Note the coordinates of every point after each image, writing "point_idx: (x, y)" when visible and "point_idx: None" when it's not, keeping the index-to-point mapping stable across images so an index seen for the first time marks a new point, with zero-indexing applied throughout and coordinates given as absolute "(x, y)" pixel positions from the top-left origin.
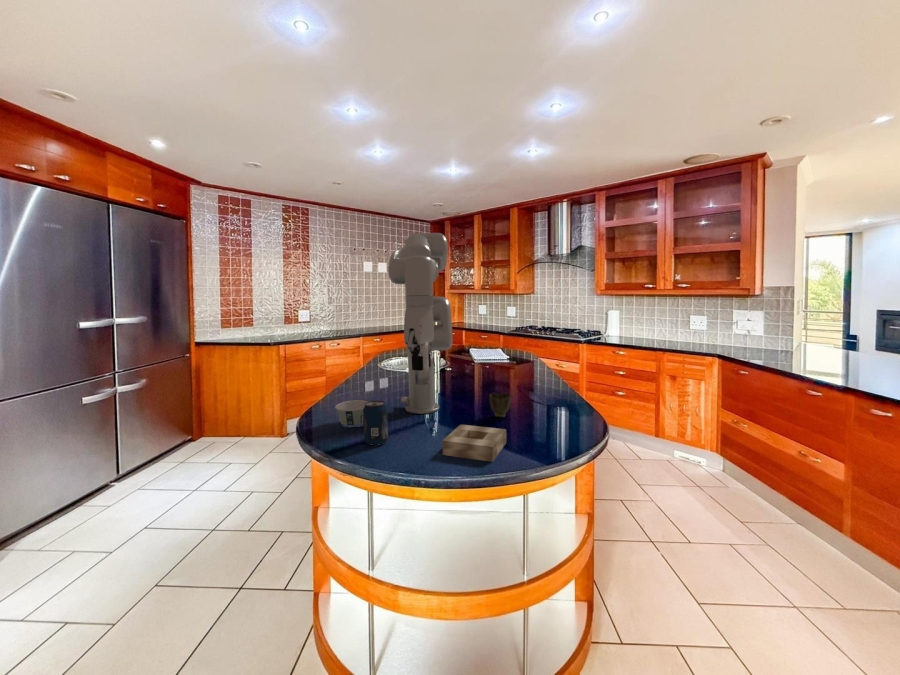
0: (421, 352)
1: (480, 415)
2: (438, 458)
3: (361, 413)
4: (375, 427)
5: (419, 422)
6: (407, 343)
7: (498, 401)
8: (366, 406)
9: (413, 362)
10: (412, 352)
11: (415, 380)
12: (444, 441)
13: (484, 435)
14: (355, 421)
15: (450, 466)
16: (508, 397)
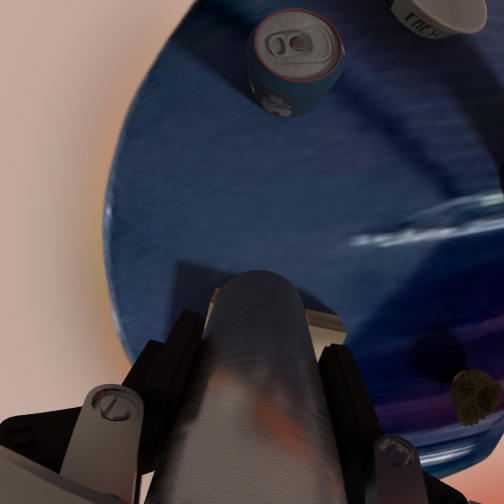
0: (136, 488)
1: (478, 334)
2: (193, 280)
3: (415, 11)
4: (250, 80)
5: (452, 182)
6: (21, 472)
7: (460, 403)
8: (264, 21)
9: (136, 360)
10: (49, 425)
11: (229, 287)
12: (209, 307)
13: None
14: (397, 5)
15: (157, 310)
16: (461, 424)
